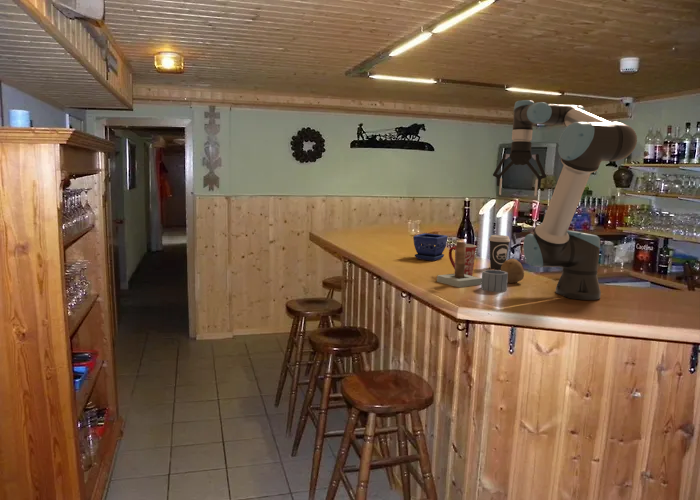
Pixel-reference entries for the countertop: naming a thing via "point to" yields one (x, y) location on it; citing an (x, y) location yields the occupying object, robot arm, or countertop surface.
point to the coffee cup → (498, 250)
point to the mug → (468, 258)
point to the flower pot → (430, 246)
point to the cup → (494, 280)
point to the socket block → (459, 280)
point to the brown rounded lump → (513, 270)
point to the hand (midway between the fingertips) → (517, 195)
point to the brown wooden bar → (460, 260)
